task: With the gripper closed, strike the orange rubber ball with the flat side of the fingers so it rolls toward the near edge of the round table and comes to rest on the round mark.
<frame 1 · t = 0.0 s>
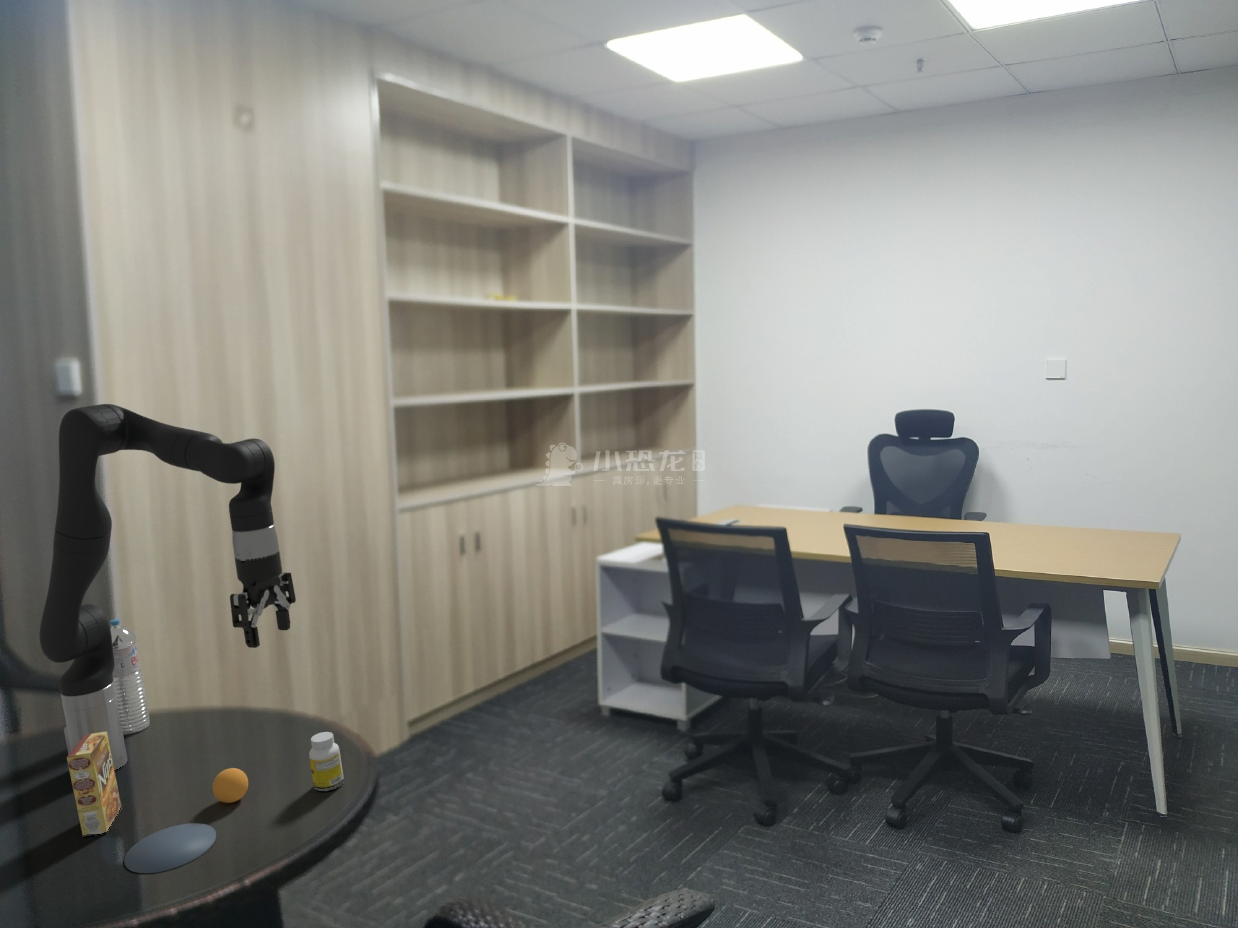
hand: (269, 638, 167), 29 cm above the table, tool pointing down, fingers open, 8 cm apart
ball: (230, 785, 168), on the table
candy box: (102, 824, 164), on the table
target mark: (171, 847, 154), on the table
supplement bottle: (329, 786, 171), on the table
water bottle: (133, 729, 203), on the table
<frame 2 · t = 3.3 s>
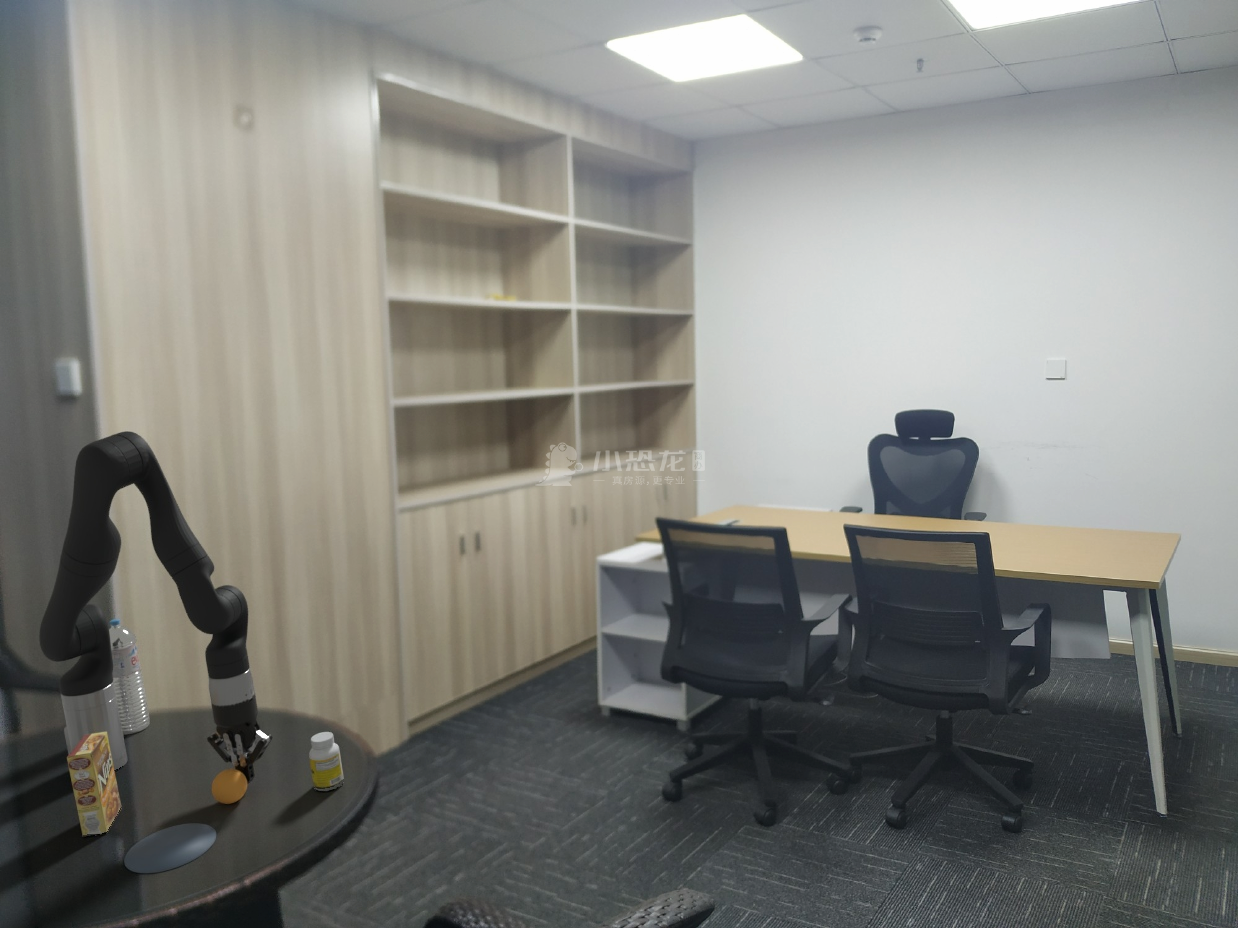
hand: (246, 781, 172), 2 cm above the table, tool pointing down, fingers closed
ball: (229, 786, 168), on the table, touching gripper
everything else where it was.
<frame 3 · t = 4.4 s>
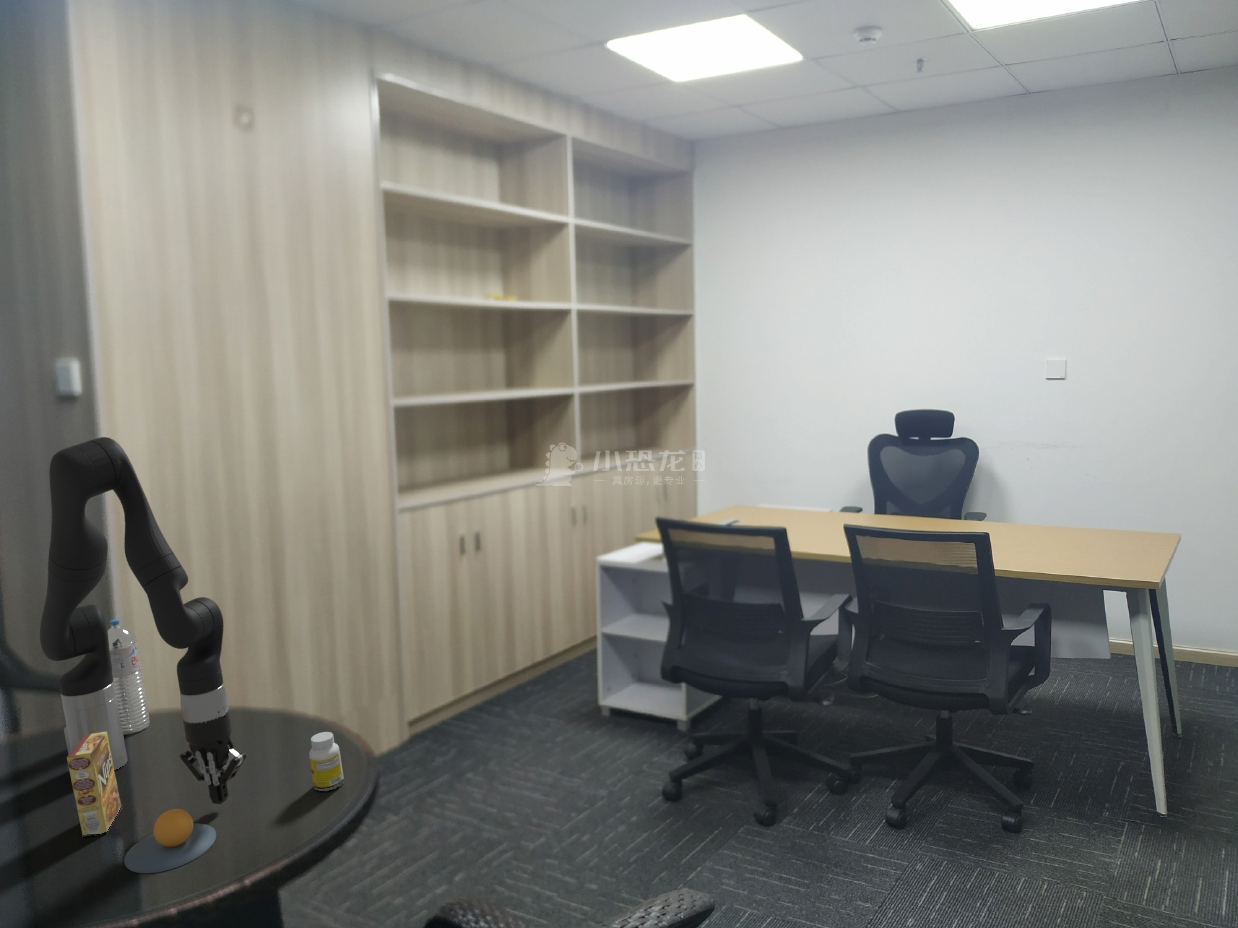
hand: (220, 801, 165), 2 cm above the table, tool pointing down, fingers closed
ball: (173, 827, 155), on the table
everything else where it was.
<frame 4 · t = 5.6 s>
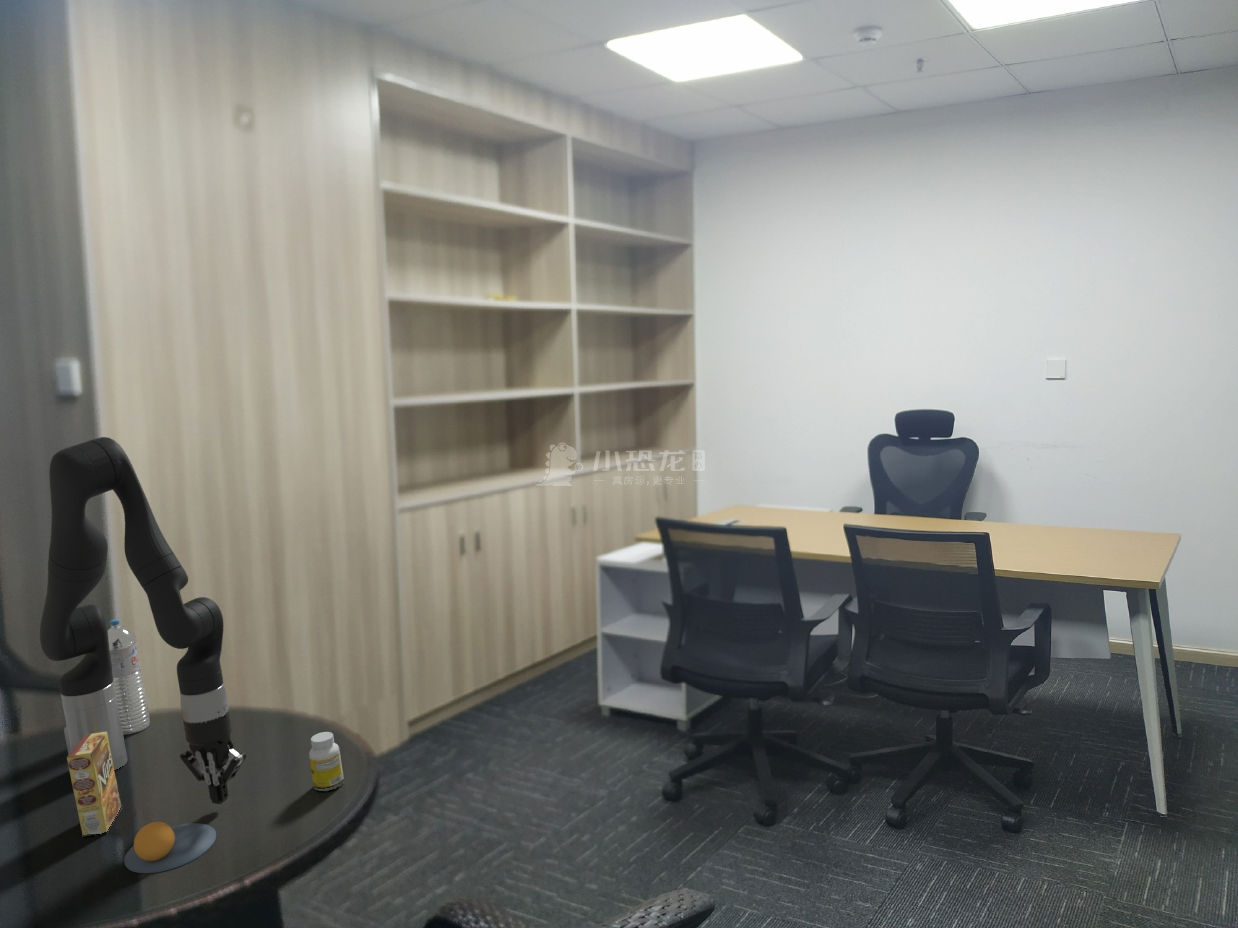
hand: (220, 801, 165), 1 cm above the table, tool pointing down, fingers closed
ball: (154, 841, 151), on the table
everything else where it was.
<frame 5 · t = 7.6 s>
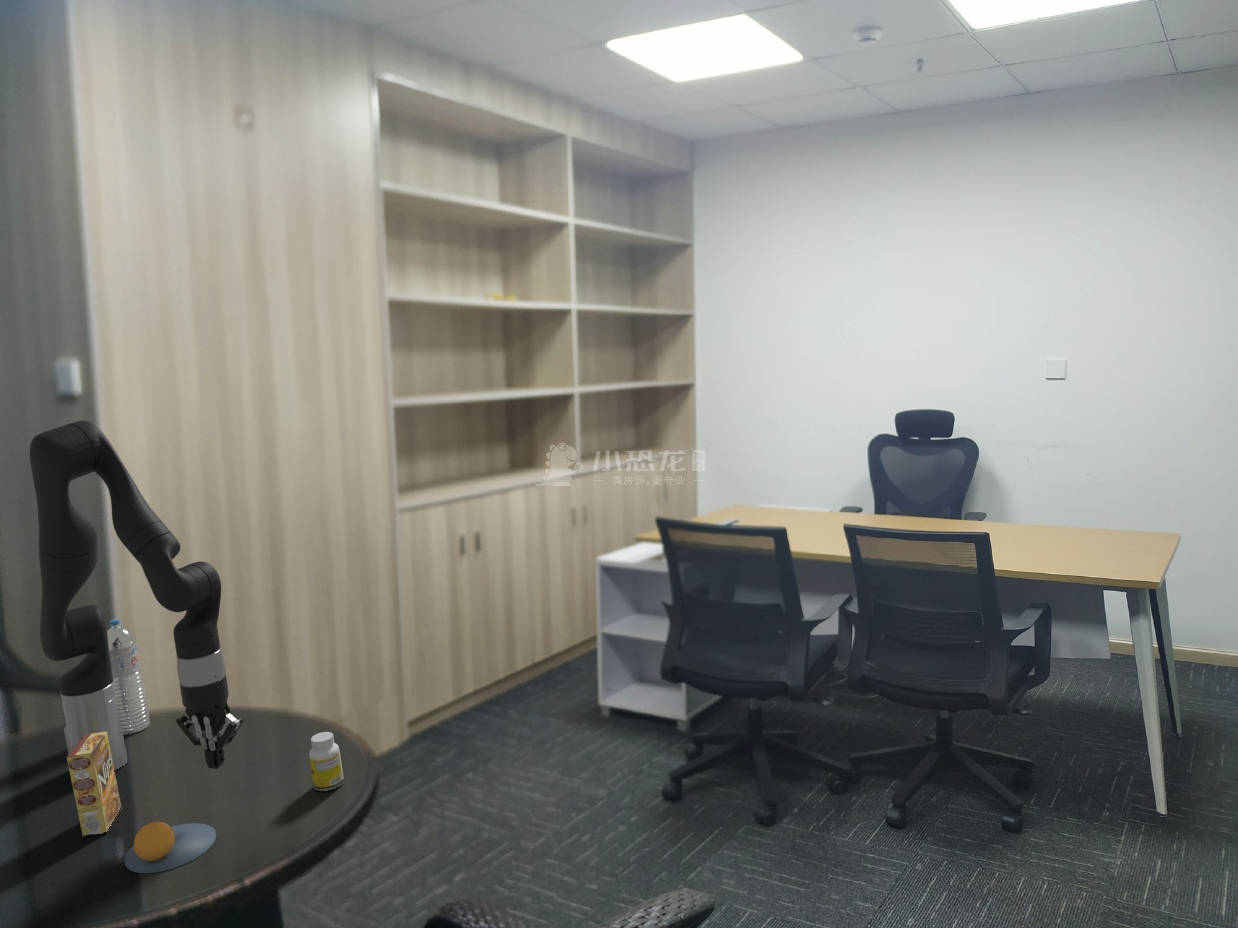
hand: (216, 766, 165), 8 cm above the table, tool pointing down, fingers closed
nothing on the table moved.
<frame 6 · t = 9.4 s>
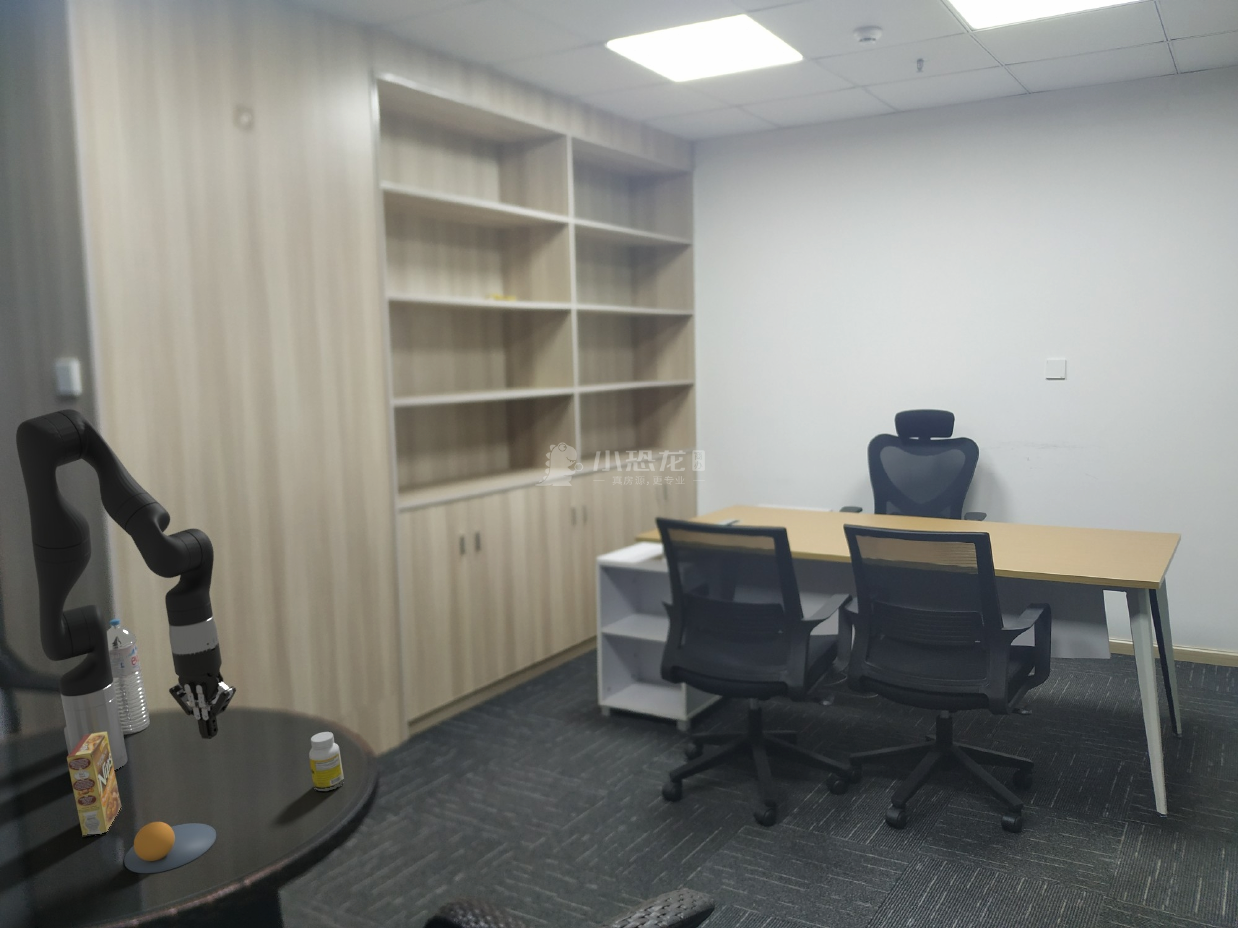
hand: (209, 736, 163), 14 cm above the table, tool pointing down, fingers closed
nothing on the table moved.
at the end: ball 2.9 cm from the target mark (horizontally); ball at rest at the end (0.0 cm/s); ball moved 17.9 cm from its start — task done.
